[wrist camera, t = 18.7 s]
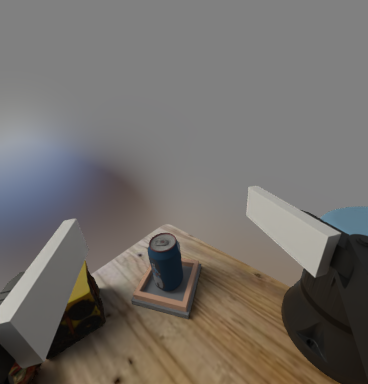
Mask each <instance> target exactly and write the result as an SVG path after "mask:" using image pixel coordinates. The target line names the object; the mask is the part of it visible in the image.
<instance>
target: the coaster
mask: <svg viewBox="0 0 368 384" xmlns="http://www.w3.org/2000/svg"><path fill="white" fill-rule="evenodd" d="M181 261H182V269H183V280H182V282H181V284H180V285H179V286H178V287H177V288H176V289H175V290H173V291H163V290H161V289H159V288H158V287H157V286H156V285H155V282H154V278H153V273H152V269H151V264H150V266H149V268H148V269H147V271H146V273H145V274H144V276H143V278H142V280H141V281H140V283H139V285H138V286H137V288H136V290H135V292H134V293H133V298H132V300H131V301H132V304H135V305H138V306H142V307H146V308H149V309H153V310H156V311H160V312H164V313H167V314H171V315H175V316H178V317H182V318H186V319H189V316H190V311H191V307H192V303H193V299H194V295H195V291H196V287H197V283H198V279H199V275H200V271H201V264H199V261H196V260H190V259H184V258H181Z"/></svg>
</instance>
